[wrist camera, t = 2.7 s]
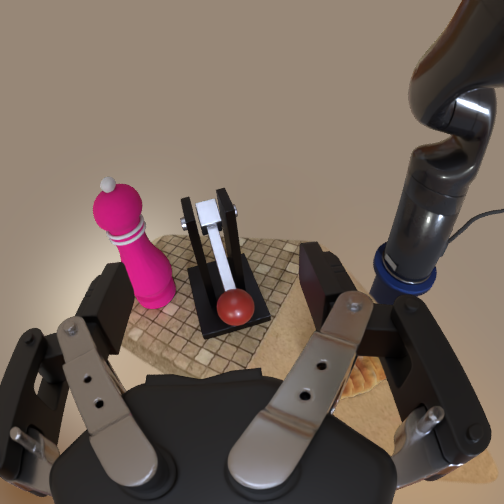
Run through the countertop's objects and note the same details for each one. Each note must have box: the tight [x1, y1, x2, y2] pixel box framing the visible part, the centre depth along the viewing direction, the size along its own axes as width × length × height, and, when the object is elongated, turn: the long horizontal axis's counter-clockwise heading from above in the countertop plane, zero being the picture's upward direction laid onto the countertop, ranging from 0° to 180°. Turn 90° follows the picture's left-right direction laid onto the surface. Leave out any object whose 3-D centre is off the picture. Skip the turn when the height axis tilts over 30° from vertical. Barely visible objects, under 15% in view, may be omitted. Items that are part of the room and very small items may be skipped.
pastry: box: [340, 356, 386, 399], centre depth 29 cm, size 9×7×4 cm
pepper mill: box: [93, 177, 176, 309], centre depth 34 cm, size 7×7×20 cm
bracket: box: [181, 188, 271, 339], centre depth 35 cm, size 12×9×16 cm
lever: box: [195, 199, 254, 326], centre depth 29 cm, size 13×4×4 cm, turn 17°
